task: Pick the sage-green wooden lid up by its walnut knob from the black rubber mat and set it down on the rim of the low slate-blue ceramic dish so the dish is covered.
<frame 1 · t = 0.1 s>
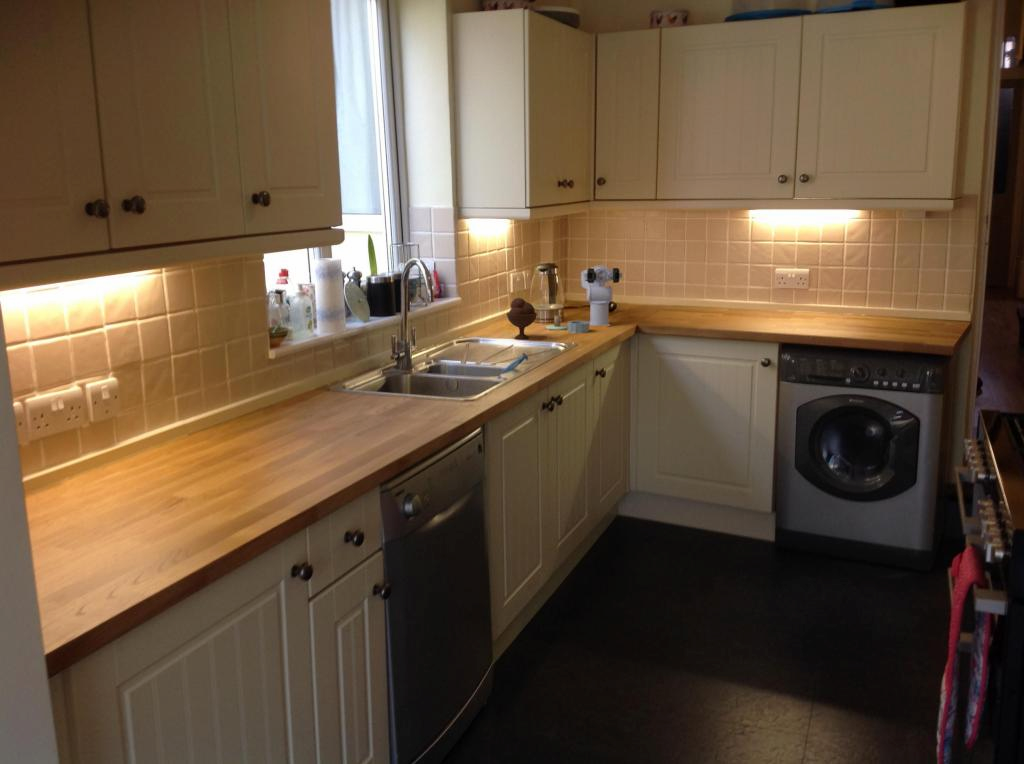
hand: (605, 276, 363), 22 cm above the worktop, tool horizontal, fingers open, 7 cm apart
ice cream bowl: (521, 339, 356), on the worktop
bowl: (578, 332, 369), on the worktop
lid: (557, 328, 376), point 1 cm above the worktop, touching mat
mat: (557, 329, 376), on the worktop
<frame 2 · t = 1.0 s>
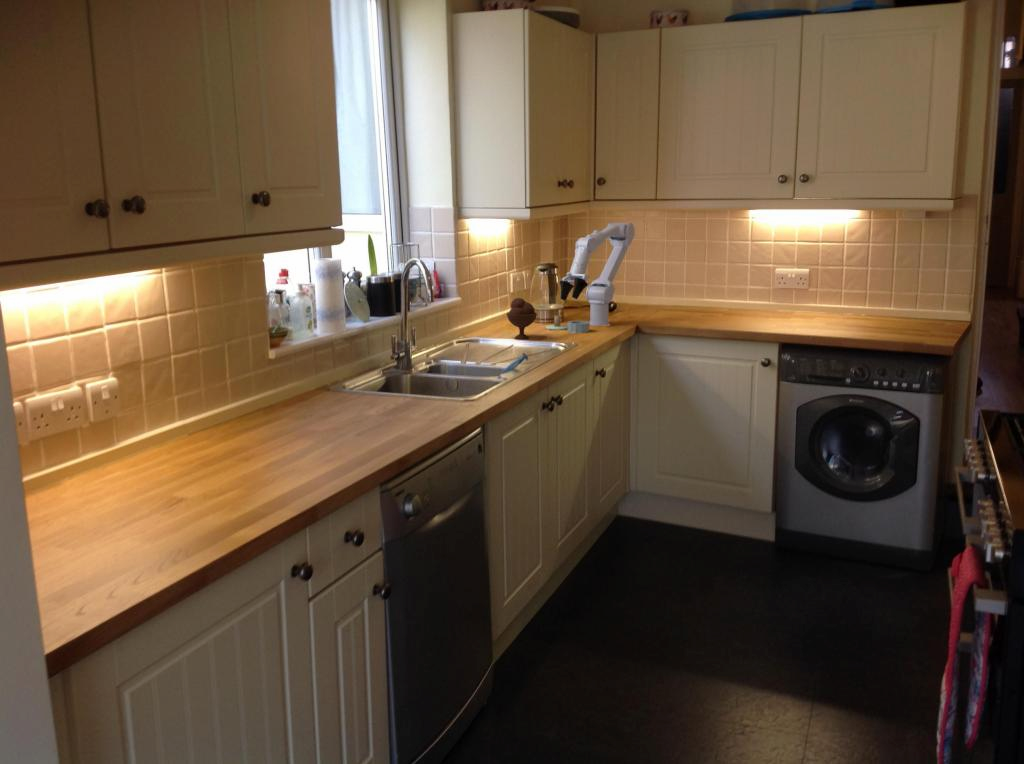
hand: (568, 298, 367), 13 cm above the worktop, tool tilted 30°, fingers open, 7 cm apart
nothing on the worktop moved.
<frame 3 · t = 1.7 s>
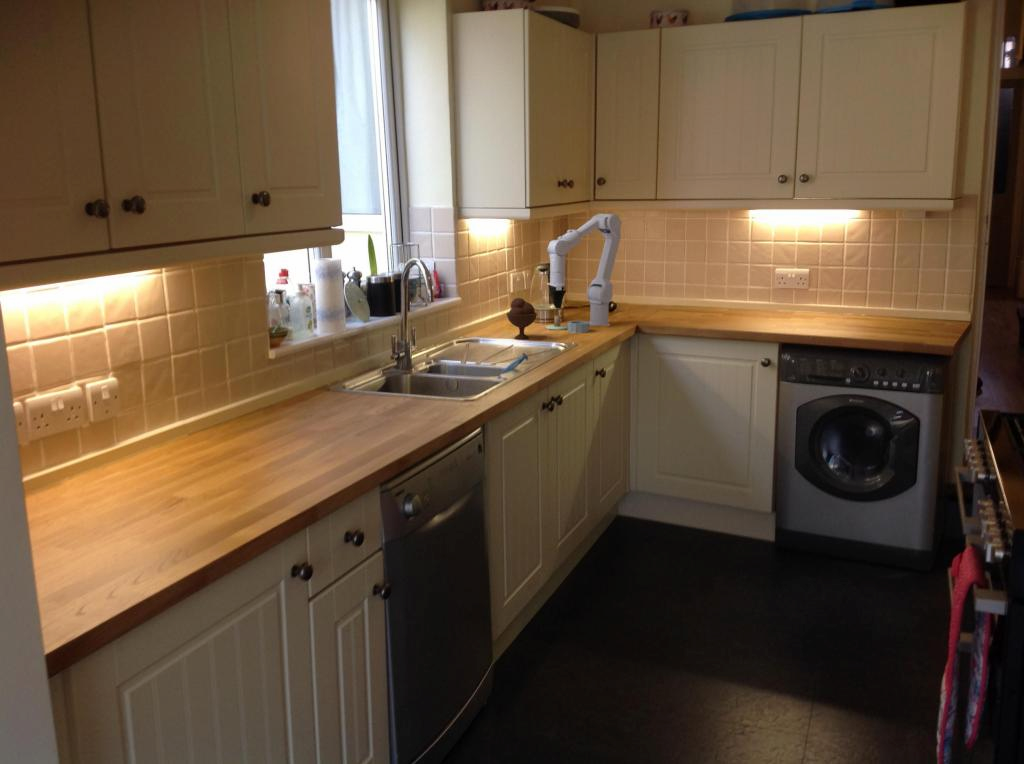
hand: (557, 306, 374), 9 cm above the worktop, tool pointing down, fingers open, 7 cm apart
nothing on the worktop moved.
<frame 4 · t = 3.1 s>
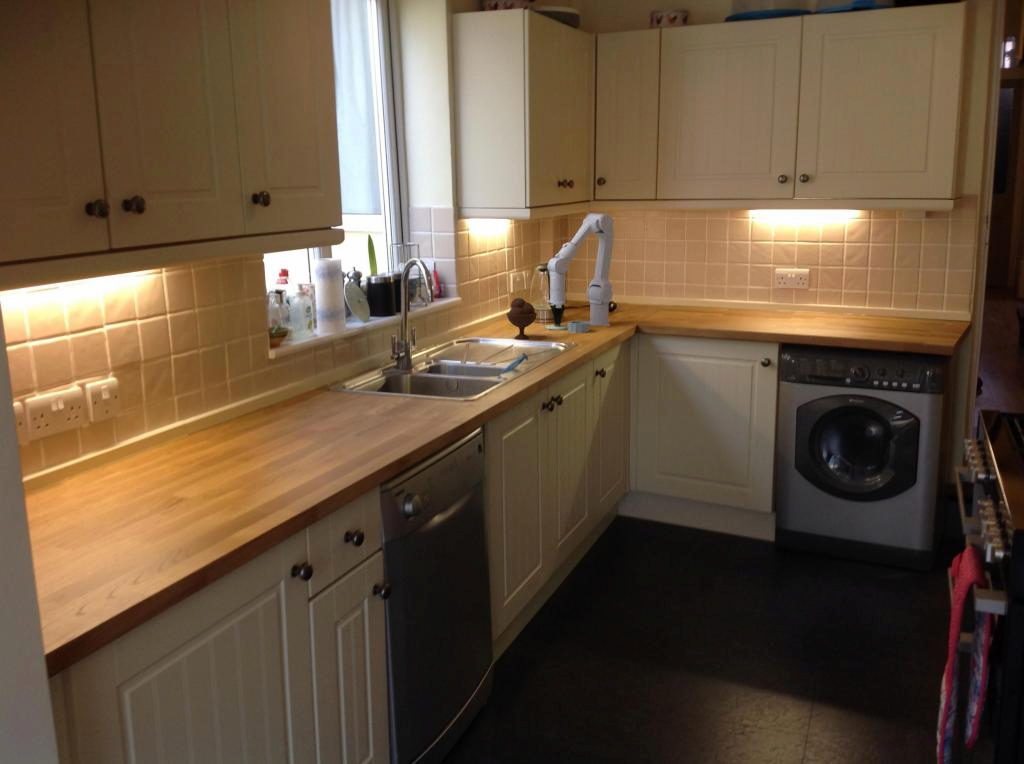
hand: (557, 324, 375), 2 cm above the worktop, tool pointing down, fingers closed on lid, 2 cm apart
lid: (557, 328, 376), point 1 cm above the worktop, touching gripper, mat
everything else where it was.
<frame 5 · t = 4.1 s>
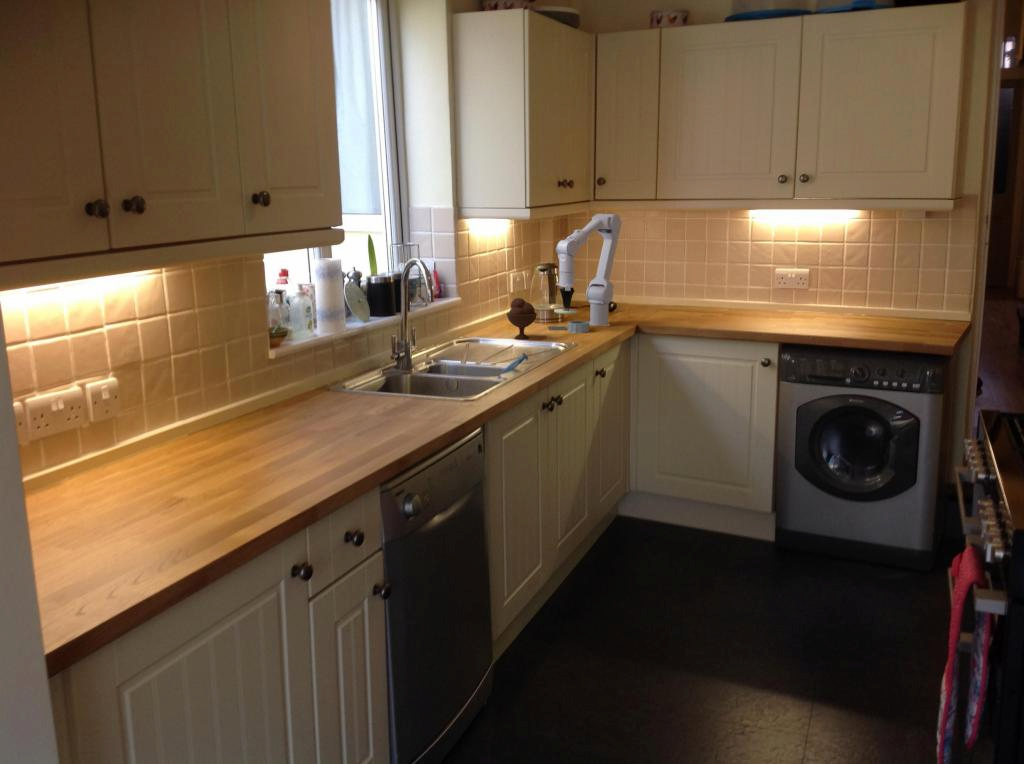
hand: (566, 307, 371), 9 cm above the worktop, tool pointing down, fingers closed on lid, 2 cm apart
lid: (565, 312, 371), point 7 cm above the worktop, touching gripper
everything else where it was.
when the fingers open (7 cm above the worktop, at t = 5.2 s): lid stays where it is, resting on bowl.
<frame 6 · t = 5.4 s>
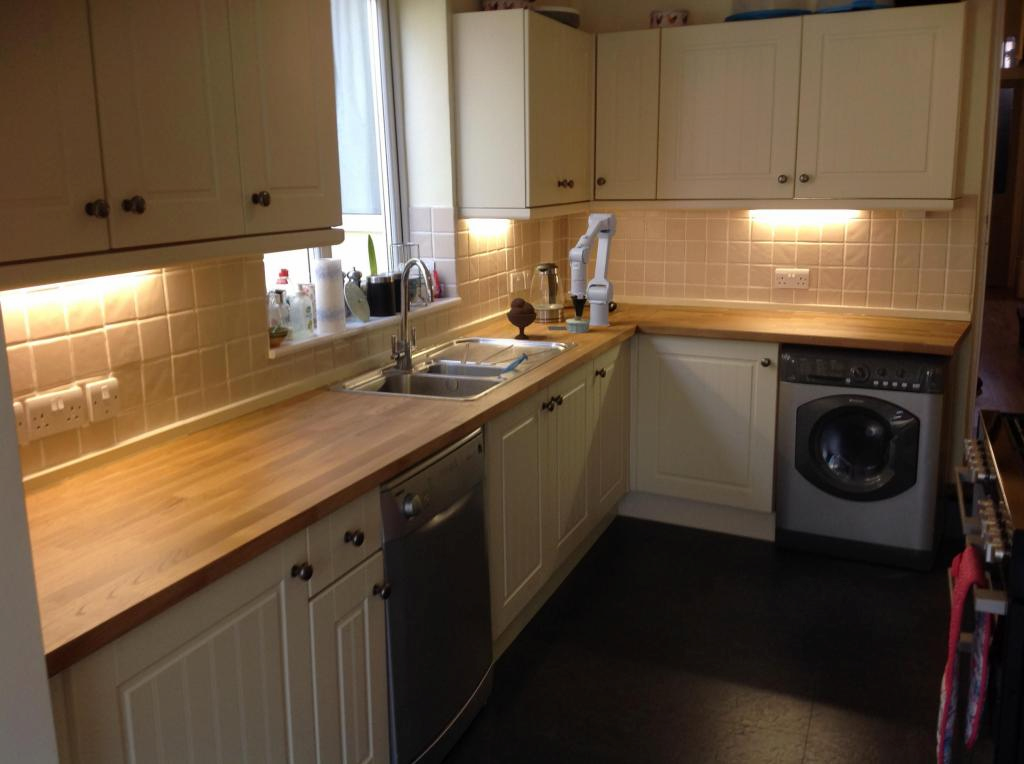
hand: (578, 315, 367), 7 cm above the worktop, tool pointing down, fingers open, 4 cm apart
lid: (577, 322, 368), point 4 cm above the worktop, touching bowl
everything else where it was.
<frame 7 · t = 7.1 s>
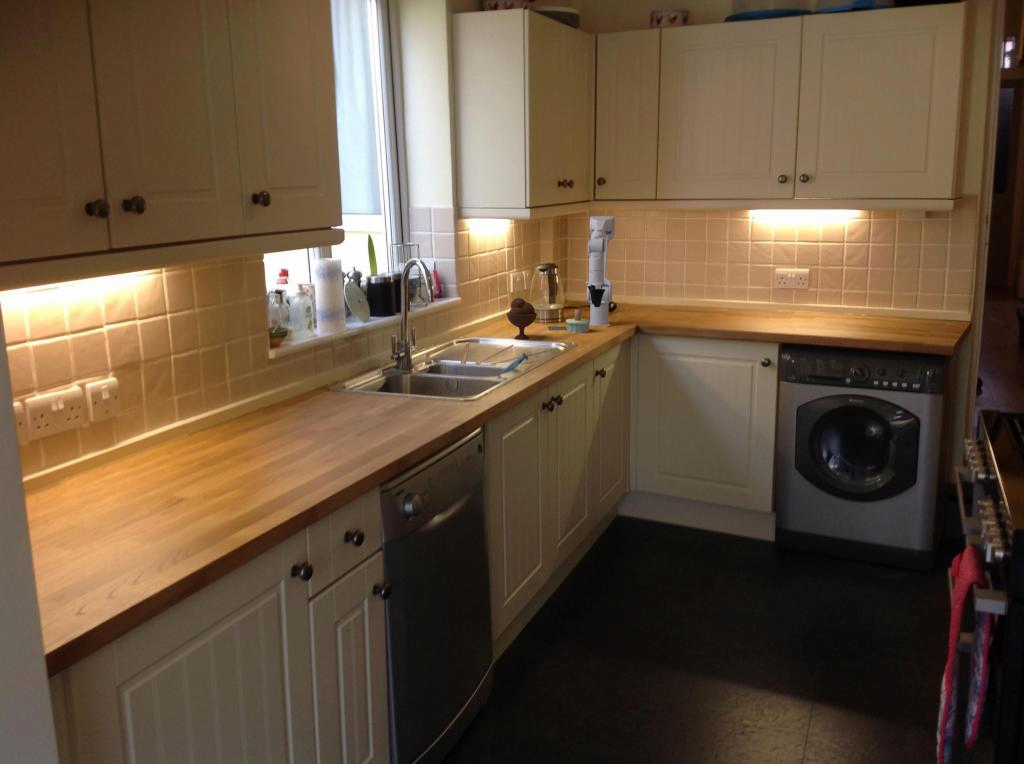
hand: (596, 305, 370), 10 cm above the worktop, tool pointing down, fingers open, 7 cm apart
nothing on the worktop moved.
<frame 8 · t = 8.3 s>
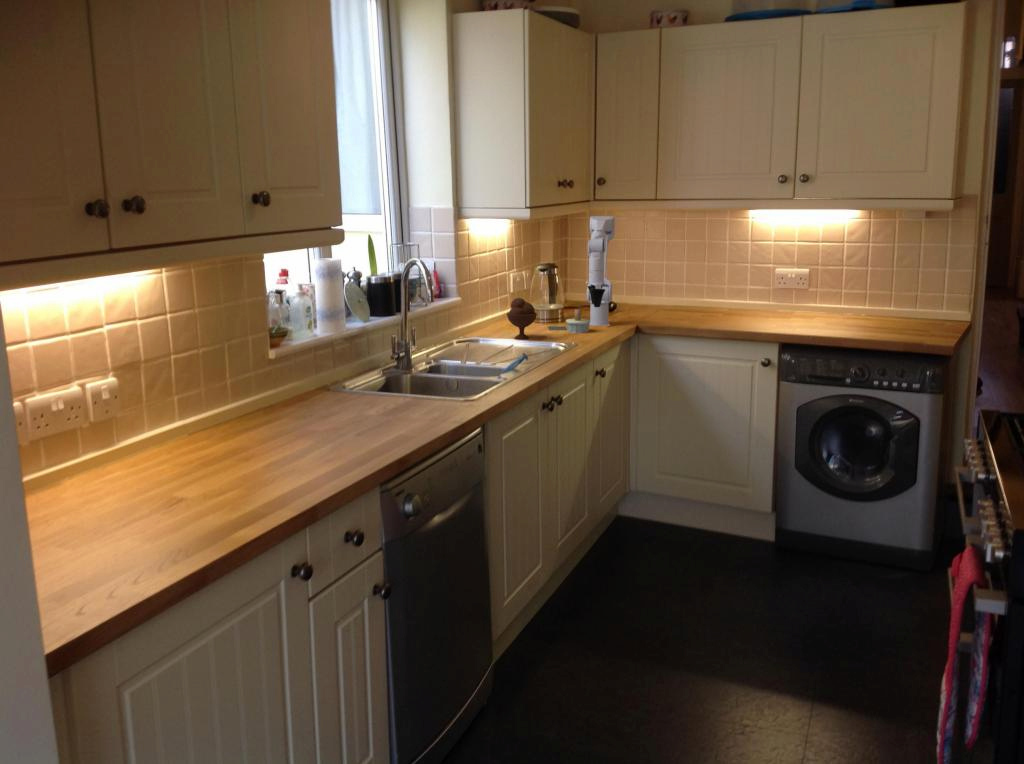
hand: (596, 305, 370), 10 cm above the worktop, tool pointing down, fingers open, 7 cm apart
nothing on the worktop moved.
at the end: lid 0.3 cm off-centre on the bowl, point 4.0 cm above the bowl's base; lid tilted 0°; the gripper is holding nothing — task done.
